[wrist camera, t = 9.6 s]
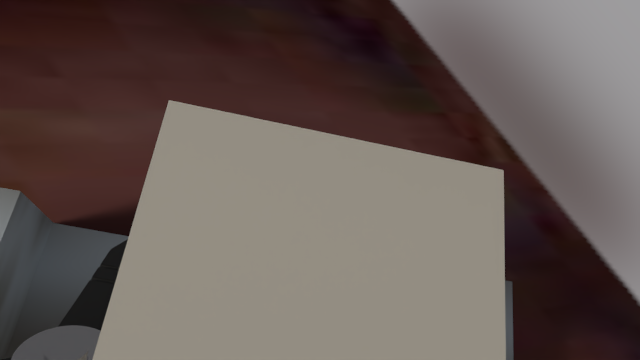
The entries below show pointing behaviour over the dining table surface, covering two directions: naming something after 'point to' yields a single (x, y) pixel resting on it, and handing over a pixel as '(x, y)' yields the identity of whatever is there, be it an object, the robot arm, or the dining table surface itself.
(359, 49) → the dining table surface
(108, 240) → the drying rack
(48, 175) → the dining table surface
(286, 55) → the dining table surface
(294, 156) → the clay bar
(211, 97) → the dining table surface
